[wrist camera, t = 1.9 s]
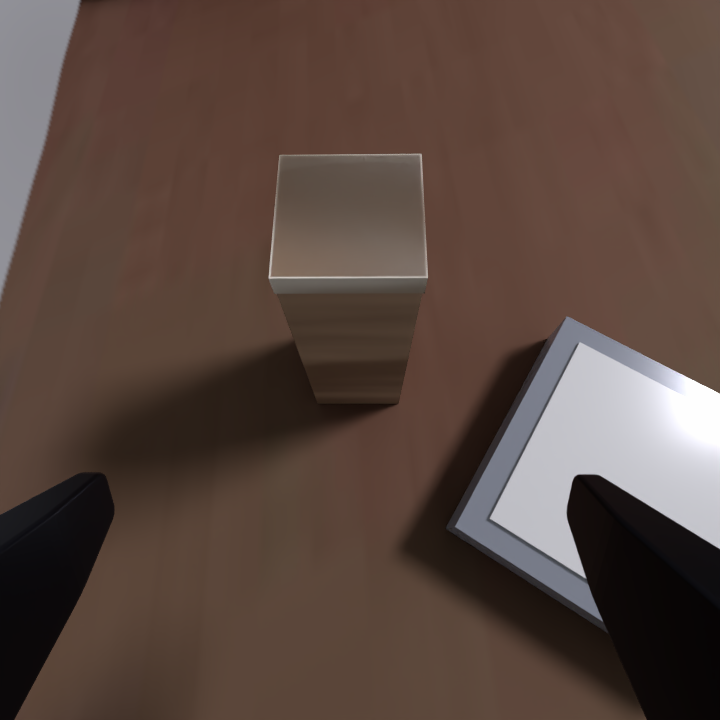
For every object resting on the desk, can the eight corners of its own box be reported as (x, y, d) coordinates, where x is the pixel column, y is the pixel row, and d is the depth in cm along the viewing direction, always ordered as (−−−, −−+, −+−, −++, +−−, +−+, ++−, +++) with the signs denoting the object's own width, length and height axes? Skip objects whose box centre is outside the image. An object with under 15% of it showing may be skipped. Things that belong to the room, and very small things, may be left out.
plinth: (687, 684, 19) (735, 706, 16) (445, 528, 21) (455, 526, 19) (765, 451, 22) (814, 440, 20) (548, 337, 24) (568, 314, 22)
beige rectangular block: (399, 404, 23) (427, 278, 12) (316, 404, 23) (268, 278, 12) (397, 329, 25) (421, 154, 14) (319, 329, 25) (279, 155, 14)
